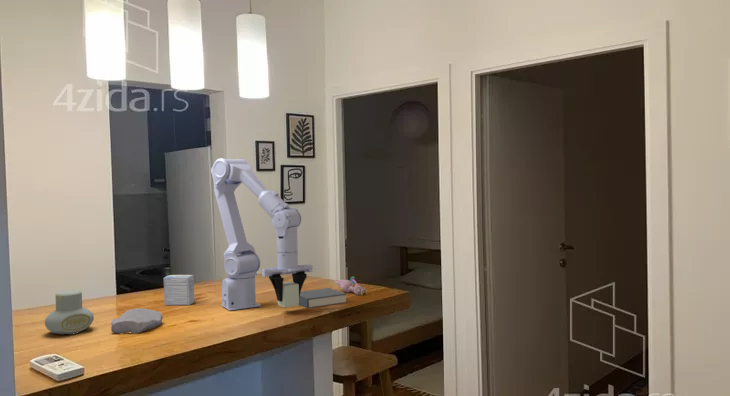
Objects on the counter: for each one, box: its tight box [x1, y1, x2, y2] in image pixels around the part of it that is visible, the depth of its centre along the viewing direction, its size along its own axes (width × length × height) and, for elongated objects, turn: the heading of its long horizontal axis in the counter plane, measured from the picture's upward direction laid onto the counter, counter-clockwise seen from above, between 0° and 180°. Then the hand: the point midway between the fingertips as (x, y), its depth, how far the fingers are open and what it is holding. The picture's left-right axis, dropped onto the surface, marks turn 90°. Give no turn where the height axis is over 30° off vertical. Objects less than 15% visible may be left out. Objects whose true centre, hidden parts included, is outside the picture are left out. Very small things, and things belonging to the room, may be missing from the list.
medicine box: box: [163, 274, 195, 306], centre depth 174 cm, size 8×4×9 cm, turn 84°
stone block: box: [110, 307, 163, 334], centre depth 146 cm, size 12×5×10 cm
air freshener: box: [44, 289, 95, 335], centre depth 143 cm, size 11×8×10 cm
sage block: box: [277, 281, 300, 308], centre depth 160 cm, size 4×4×6 cm
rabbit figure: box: [332, 276, 369, 296], centre depth 187 cm, size 6×6×15 cm
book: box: [299, 287, 347, 309], centre depth 173 cm, size 13×11×3 cm
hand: (288, 299), depth 160 cm, fingers closed on sage block, 4 cm apart
